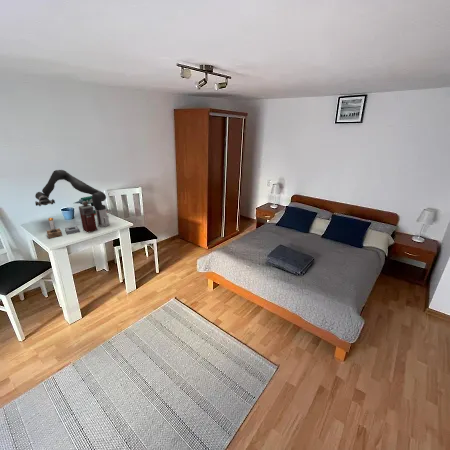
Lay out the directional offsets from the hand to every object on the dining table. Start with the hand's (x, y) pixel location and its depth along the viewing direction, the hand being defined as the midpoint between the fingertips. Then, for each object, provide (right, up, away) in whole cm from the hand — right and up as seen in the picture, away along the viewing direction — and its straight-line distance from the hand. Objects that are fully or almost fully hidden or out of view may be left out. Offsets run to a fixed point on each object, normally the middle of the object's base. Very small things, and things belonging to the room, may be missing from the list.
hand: (46, 204), depth 214 cm
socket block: (+17, -24, +10) cm, 31 cm away
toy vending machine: (+32, -23, +14) cm, 42 cm away
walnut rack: (+7, -27, +2) cm, 28 cm away
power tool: (+10, -7, +54) cm, 55 cm away
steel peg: (+6, -27, +2) cm, 28 cm away
